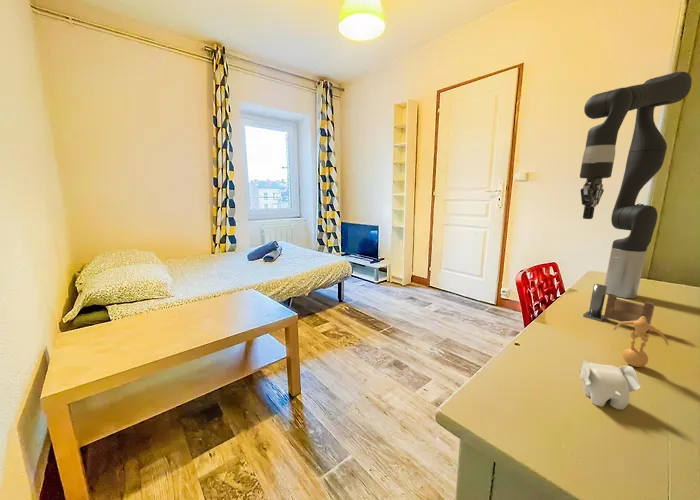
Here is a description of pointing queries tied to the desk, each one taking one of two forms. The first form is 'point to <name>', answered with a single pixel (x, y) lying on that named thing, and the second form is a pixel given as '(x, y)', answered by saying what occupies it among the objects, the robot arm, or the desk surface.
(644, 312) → the gate
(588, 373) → the elephant figurine
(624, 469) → the desk surface
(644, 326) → the figurine
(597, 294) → the gate posts
